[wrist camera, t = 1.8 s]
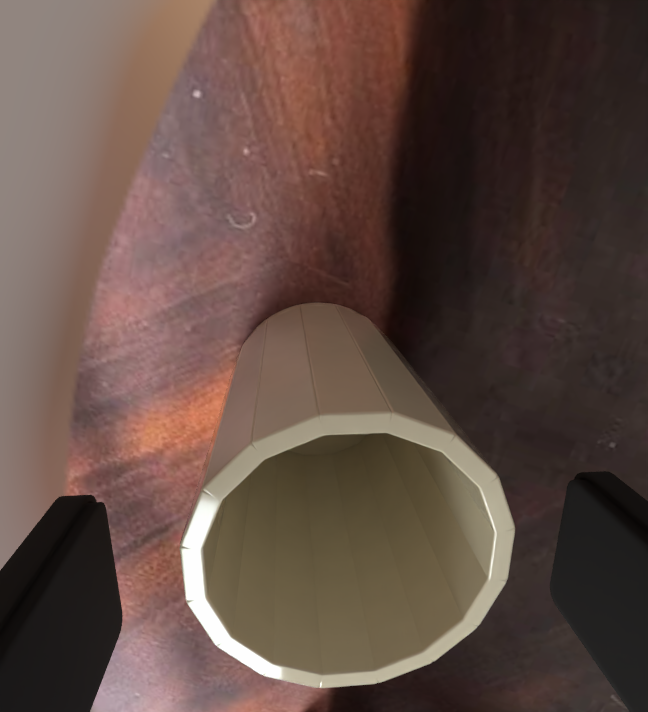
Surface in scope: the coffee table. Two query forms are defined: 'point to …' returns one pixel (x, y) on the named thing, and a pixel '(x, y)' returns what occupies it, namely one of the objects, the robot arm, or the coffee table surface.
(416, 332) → the coffee table surface
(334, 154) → the coffee table surface
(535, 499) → the coffee table surface
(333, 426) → the paper cup
